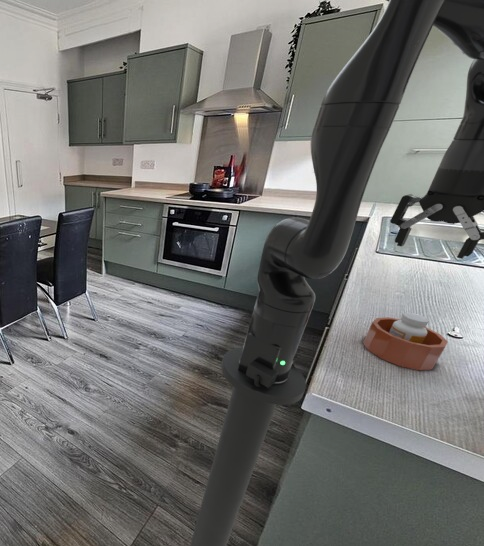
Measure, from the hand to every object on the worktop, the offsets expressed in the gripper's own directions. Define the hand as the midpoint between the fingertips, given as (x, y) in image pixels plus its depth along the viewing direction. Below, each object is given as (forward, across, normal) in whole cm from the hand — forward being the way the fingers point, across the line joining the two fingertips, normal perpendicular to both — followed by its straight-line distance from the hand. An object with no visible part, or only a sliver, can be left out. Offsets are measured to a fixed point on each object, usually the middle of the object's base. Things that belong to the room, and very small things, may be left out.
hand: (428, 251), depth 63 cm
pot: (+24, +2, +2) cm, 25 cm away
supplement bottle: (+25, +2, +2) cm, 25 cm away
